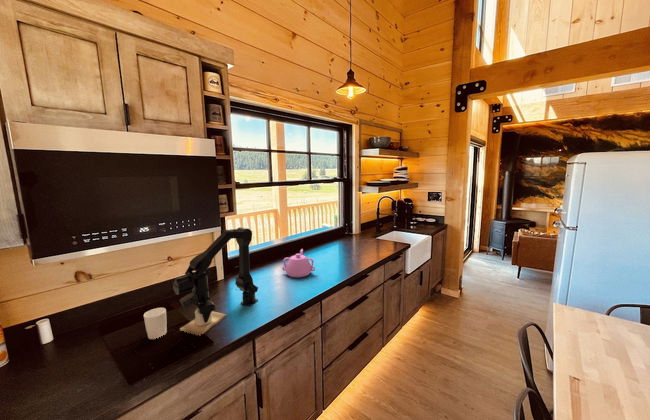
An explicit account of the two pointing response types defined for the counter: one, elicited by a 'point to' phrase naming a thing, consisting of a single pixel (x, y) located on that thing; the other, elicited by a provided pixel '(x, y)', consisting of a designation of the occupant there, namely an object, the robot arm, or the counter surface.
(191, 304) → the robot arm
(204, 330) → the stud block
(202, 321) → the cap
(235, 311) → the counter surface
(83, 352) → the counter surface
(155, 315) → the white cup
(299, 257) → the teapot
